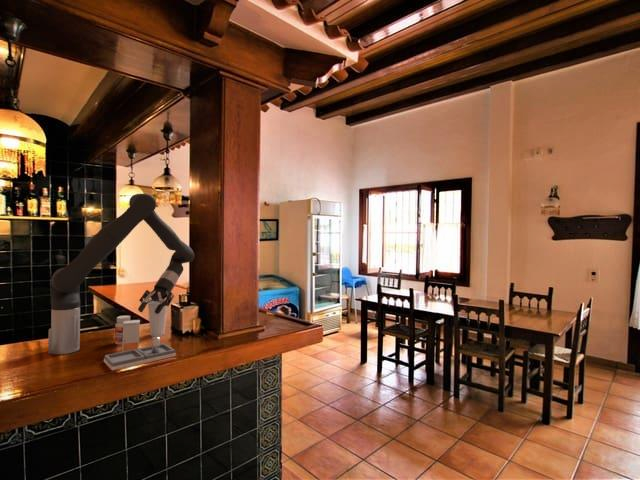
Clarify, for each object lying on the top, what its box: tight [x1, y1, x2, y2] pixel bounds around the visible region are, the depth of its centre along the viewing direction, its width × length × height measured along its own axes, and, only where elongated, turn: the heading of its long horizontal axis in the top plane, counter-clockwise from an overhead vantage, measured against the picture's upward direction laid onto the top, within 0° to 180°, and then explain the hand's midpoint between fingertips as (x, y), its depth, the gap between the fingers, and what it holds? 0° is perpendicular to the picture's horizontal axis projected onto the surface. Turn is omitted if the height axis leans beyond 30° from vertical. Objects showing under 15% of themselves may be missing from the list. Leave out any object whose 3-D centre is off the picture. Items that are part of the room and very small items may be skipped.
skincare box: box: [121, 319, 141, 352], centre depth 140 cm, size 6×4×12 cm
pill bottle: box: [114, 315, 131, 346], centre depth 150 cm, size 6×6×11 cm
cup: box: [147, 301, 168, 337], centre depth 162 cm, size 8×8×16 cm
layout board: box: [103, 336, 176, 371], centre depth 131 cm, size 22×11×7 cm, turn 135°
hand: (147, 312), depth 149 cm, fingers open, 8 cm apart
